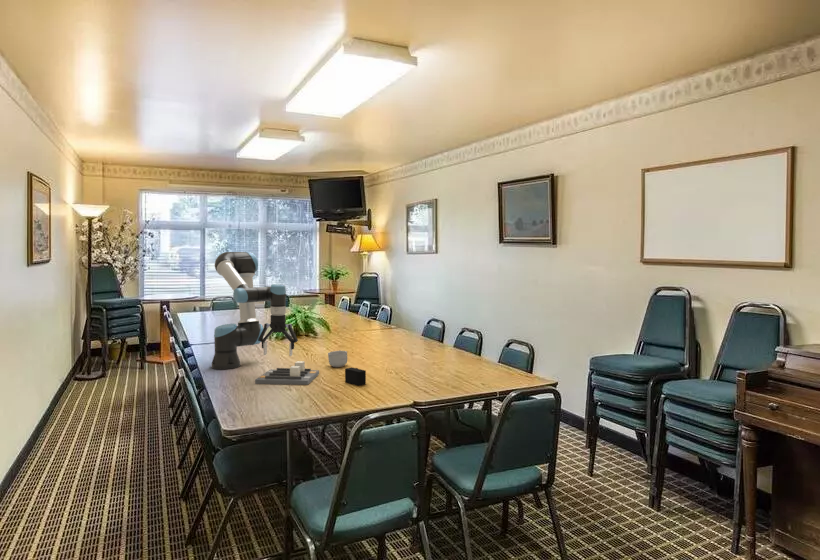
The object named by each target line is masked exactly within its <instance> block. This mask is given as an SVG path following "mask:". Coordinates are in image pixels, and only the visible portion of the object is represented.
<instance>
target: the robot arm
mask: <svg viewBox="0 0 820 560" xmlns="http://www.w3.org/2000/svg"><path fill="white" fill-rule="evenodd" d="M214 269H215V271H216V273H217V274H218V275H219V276H222V277H223V279H224V280H225V281H226V283H227V284H228V286H229V287H230V288H231V289H232V290H233V291H232V296H233V300H234V302H236V303H237V304H238V306H239V318H240V319H239V321H238V322H237V324H236V323H225V324H222V325H218V326H216V327H215V328H214V334H213V338H214V341H213V342H214V355H213V358H212V362H211V368H212V369H214V370H231V369H236V368H240V367H241V360H240V357H239V355H238V351H237V349H238V347H245V346H254V345H260V344H261V349H263V356H267V354H268V350H267V349H268V348H267V346H268V345H267V344H268V342H267V339H268V338H269V337H270V336H271V335H272V334H273V333H279V334H280V333H282V334H283V335H284V337H286V339H287V340H288V341H289V348H288V350H289V354H288V355H289V357H292V356H293V350H294V349H295V343H297V342H298V341H299V339H298V337H297V335H296V333H295V331H294V329H293V325H292V323H288V324H287V322H286V318H287V317H286V316H287V315H286V313H287V312H286V308H287V307H286V306H287V305H286V303H287V302H286V300H287V299H286V298H287V294H286V293H287V291H286V290H287V289H286V285H285V284H280V283H275V284H271V285H270V286H269V285H268V286H261V287H258V286H257V287H254V280H253V278H254V276H255V275H256V272H257V271H258V269H259V262H258V258H257V256H256V255H255V253H253V252H250V251H226V252H222V253H220V254H219V255H218V256H217V257H216V258H215V261H214ZM257 302H259V303H261V302H270V323H268V322H266V323H264V325H262V323H260V321H259V319H258V318H257V316H256V304H255V303H257ZM268 328H270V330H269V331H268V333H267V334H266V332H267V330H268ZM286 328H287V329H288V331H289V332H288V331H287V329H286ZM265 334H266V335H265Z"/></svg>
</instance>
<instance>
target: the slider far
mask: <svg viewBox="0 0 820 560" xmlns="http://www.w3.org/2000/svg"><path fill="white" fill-rule="evenodd" d="M305 363H306V361H304V360H303V361H301V360H300V361H299V360H297V361H295V362H294V366H300V371H305V369H306V368H305V367H306V365H305Z"/></svg>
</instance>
